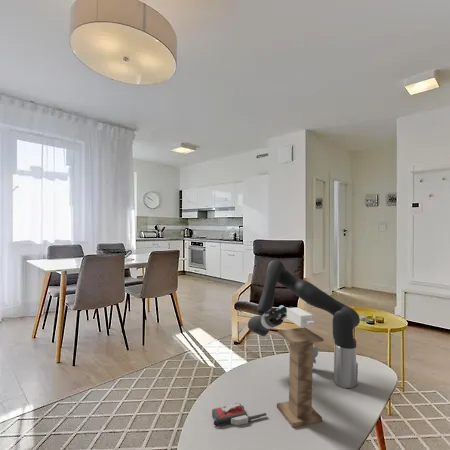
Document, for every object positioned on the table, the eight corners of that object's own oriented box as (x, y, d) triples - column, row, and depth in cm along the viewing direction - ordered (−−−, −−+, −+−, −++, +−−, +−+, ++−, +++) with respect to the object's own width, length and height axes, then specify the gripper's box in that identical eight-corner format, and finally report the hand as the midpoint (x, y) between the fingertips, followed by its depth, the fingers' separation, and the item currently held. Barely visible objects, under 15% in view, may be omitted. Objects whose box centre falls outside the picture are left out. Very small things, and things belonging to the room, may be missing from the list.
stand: (303, 402, 121) (305, 327, 120) (321, 421, 109) (323, 338, 109) (276, 407, 117) (278, 330, 117) (292, 427, 106) (294, 342, 105)
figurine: (312, 364, 154) (312, 340, 154) (320, 371, 146) (321, 346, 146) (297, 366, 152) (298, 342, 151) (305, 373, 144) (306, 348, 144)
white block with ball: (285, 310, 129) (285, 300, 128) (317, 328, 107) (317, 317, 107) (275, 311, 127) (275, 301, 127) (305, 330, 105) (305, 318, 105)
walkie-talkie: (216, 432, 103) (267, 419, 110) (216, 419, 103) (268, 407, 110) (208, 416, 111) (256, 405, 119) (208, 404, 111) (257, 394, 118)
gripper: (255, 311, 135) (271, 300, 121) (283, 309, 139) (301, 298, 125) (259, 328, 131) (275, 319, 117) (287, 326, 136) (306, 316, 121)
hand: (288, 308), depth 121 cm, fingers closed on white block with ball, 2 cm apart
